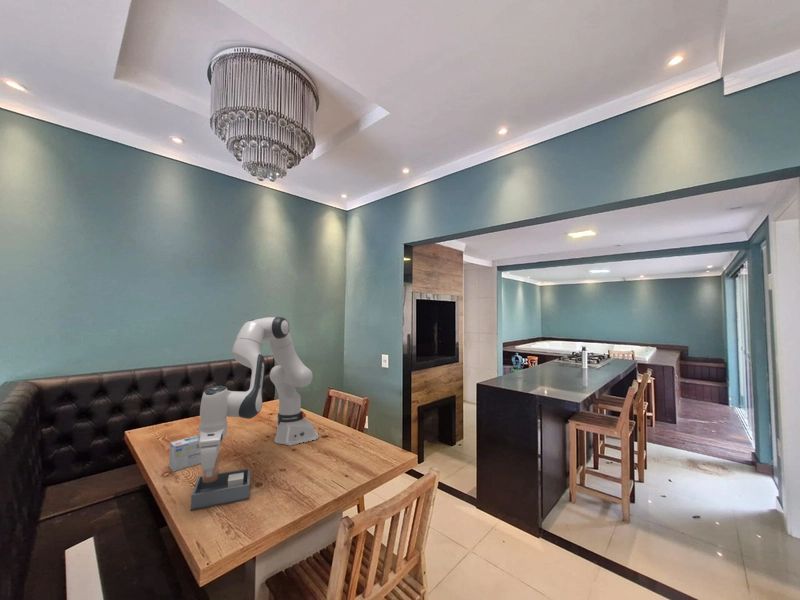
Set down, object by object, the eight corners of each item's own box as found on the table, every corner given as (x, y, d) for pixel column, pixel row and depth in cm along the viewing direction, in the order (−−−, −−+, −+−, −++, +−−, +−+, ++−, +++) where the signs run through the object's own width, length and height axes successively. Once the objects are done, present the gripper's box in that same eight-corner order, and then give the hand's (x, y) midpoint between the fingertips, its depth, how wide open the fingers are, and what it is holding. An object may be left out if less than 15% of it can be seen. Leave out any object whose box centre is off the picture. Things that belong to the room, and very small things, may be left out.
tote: (249, 481, 124) (250, 468, 124) (248, 499, 112) (249, 484, 112) (197, 490, 117) (198, 476, 117) (190, 511, 104) (191, 495, 105)
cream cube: (228, 488, 117) (228, 474, 118) (243, 485, 119) (243, 472, 120) (227, 495, 113) (227, 481, 113) (242, 492, 115) (243, 478, 115)
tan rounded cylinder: (203, 477, 114) (204, 457, 115) (218, 474, 116) (219, 455, 117) (200, 484, 110) (202, 463, 110) (217, 481, 112) (218, 461, 112)
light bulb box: (196, 459, 142) (197, 434, 143) (201, 463, 138) (203, 438, 139) (168, 467, 134) (169, 441, 135) (172, 472, 130) (174, 445, 131)
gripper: (206, 424, 122) (204, 461, 121) (198, 443, 103) (195, 487, 103) (225, 422, 125) (223, 458, 124) (219, 441, 106) (217, 483, 105)
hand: (210, 471), depth 113 cm, fingers closed on tan rounded cylinder, 5 cm apart
